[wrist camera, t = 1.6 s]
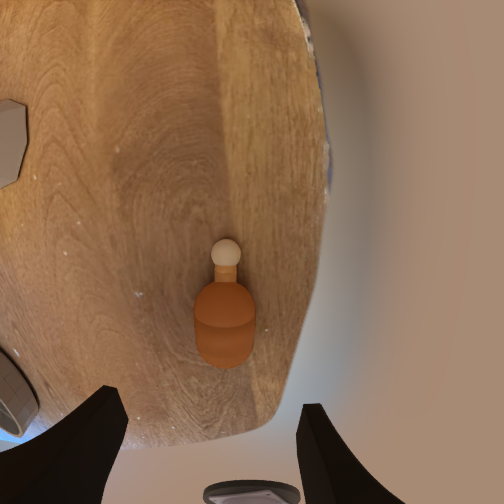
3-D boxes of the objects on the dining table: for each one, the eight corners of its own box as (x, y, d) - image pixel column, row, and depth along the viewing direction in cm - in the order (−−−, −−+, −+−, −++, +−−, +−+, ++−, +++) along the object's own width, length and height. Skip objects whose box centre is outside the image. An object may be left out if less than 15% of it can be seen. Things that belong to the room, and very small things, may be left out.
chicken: (253, 347, 18) (252, 381, 15) (202, 344, 18) (193, 377, 15) (258, 236, 16) (258, 256, 13) (197, 234, 16) (183, 253, 13)
